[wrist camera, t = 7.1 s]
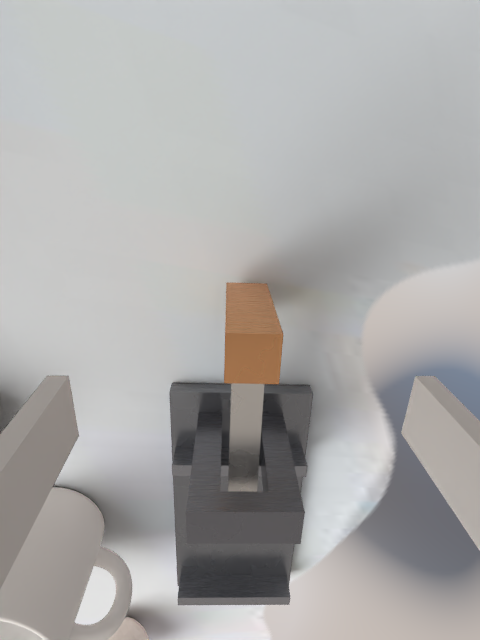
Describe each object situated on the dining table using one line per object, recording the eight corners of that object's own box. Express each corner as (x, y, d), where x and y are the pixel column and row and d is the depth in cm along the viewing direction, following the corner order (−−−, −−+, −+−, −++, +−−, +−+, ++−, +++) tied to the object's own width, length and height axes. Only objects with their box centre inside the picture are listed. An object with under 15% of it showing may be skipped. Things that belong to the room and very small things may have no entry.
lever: (226, 282, 24) (225, 332, 17) (266, 283, 24) (283, 334, 17) (222, 460, 30) (220, 558, 22) (255, 460, 30) (264, 558, 22)
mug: (159, 513, 34) (132, 650, 24) (128, 570, 36) (92, 714, 27) (25, 470, 31) (-64, 603, 22) (2, 534, 34) (-86, 677, 25)
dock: (172, 383, 29) (144, 486, 19) (309, 385, 29) (347, 487, 20) (179, 573, 37) (162, 710, 27) (287, 572, 37) (306, 707, 28)
